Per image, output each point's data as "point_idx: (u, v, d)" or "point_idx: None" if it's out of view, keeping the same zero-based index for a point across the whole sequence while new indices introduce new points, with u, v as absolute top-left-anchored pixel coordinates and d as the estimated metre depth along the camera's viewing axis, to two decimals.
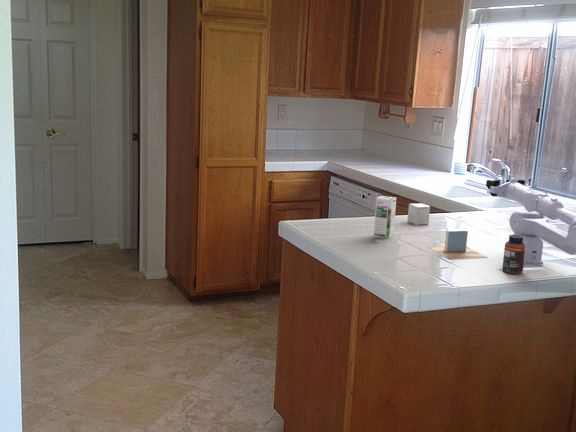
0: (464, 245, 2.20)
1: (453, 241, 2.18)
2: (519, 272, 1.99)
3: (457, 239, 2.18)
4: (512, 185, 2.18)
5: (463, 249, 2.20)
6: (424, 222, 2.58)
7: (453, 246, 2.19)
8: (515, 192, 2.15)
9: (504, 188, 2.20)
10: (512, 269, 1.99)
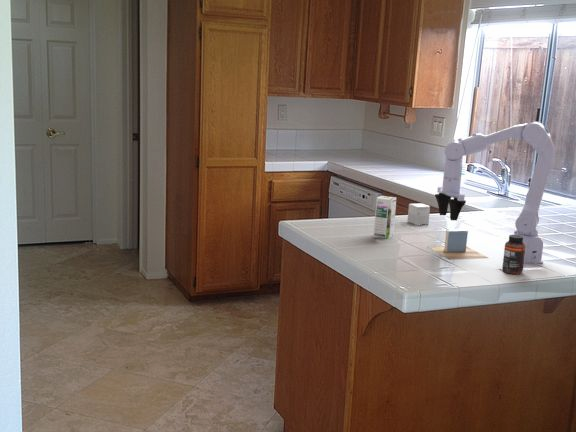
0: (464, 245, 2.20)
1: (453, 241, 2.18)
2: (519, 272, 1.99)
3: (457, 239, 2.18)
4: (448, 185, 2.19)
5: (463, 249, 2.20)
6: (424, 222, 2.58)
7: (453, 246, 2.19)
8: (448, 174, 2.19)
9: (453, 192, 2.19)
10: (512, 269, 1.99)
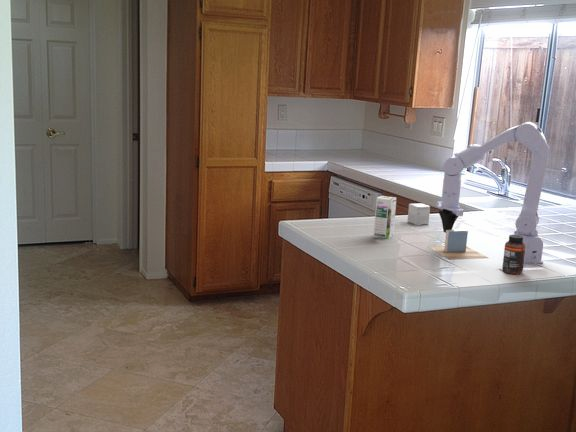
0: (464, 245, 2.20)
1: (453, 241, 2.18)
2: (519, 272, 1.99)
3: (457, 239, 2.18)
4: (447, 200, 2.20)
5: (463, 249, 2.20)
6: (424, 222, 2.58)
7: (453, 246, 2.19)
8: (447, 190, 2.20)
9: (452, 208, 2.20)
10: (512, 269, 1.99)
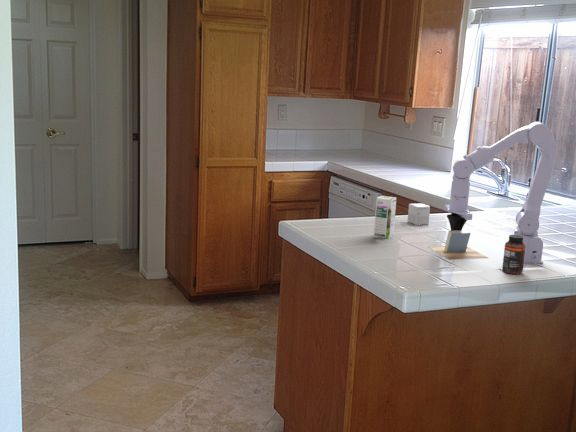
0: (465, 246, 2.19)
1: (454, 242, 2.17)
2: (519, 272, 1.99)
3: (459, 240, 2.17)
4: (455, 204, 2.15)
5: (463, 249, 2.20)
6: (424, 222, 2.58)
7: (454, 247, 2.18)
8: (457, 193, 2.14)
9: (461, 211, 2.15)
10: (512, 269, 1.99)
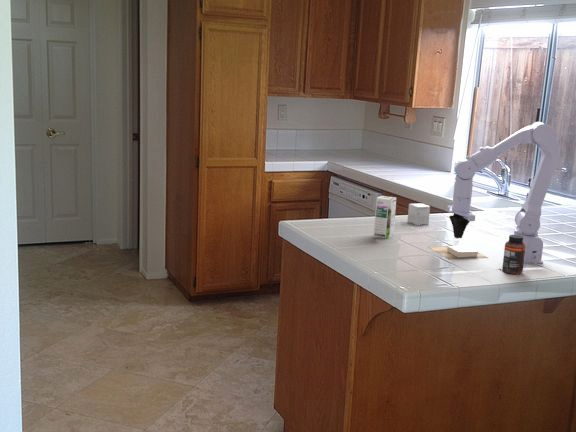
0: None
1: None
2: (519, 272, 1.99)
3: None
4: (458, 205, 2.13)
5: None
6: (424, 222, 2.58)
7: None
8: (460, 194, 2.12)
9: (464, 212, 2.13)
10: (512, 269, 1.99)
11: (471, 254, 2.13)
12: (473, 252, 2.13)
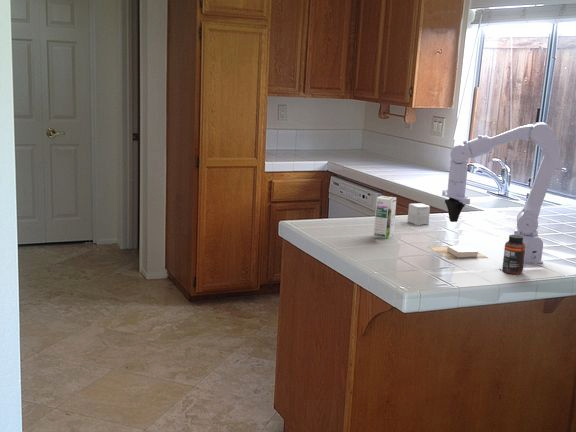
0: None
1: None
2: (519, 272, 1.99)
3: None
4: (453, 189, 2.16)
5: None
6: (424, 222, 2.58)
7: None
8: (454, 178, 2.15)
9: (459, 196, 2.16)
10: (512, 269, 1.99)
11: (471, 254, 2.13)
12: (473, 252, 2.13)
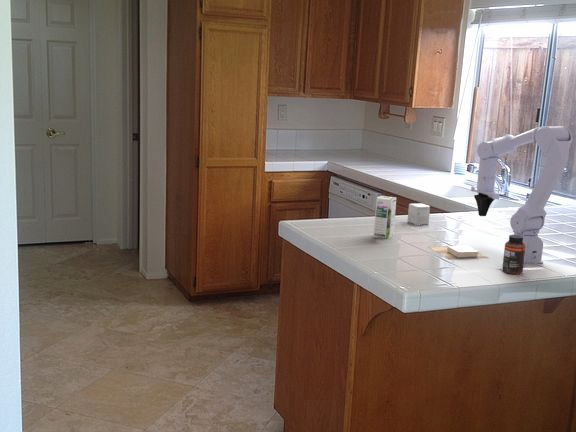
0: None
1: None
2: (519, 272, 1.99)
3: None
4: (483, 184, 2.25)
5: None
6: (424, 222, 2.58)
7: None
8: (479, 173, 2.25)
9: (488, 191, 2.24)
10: (512, 269, 1.99)
11: (471, 254, 2.13)
12: (473, 252, 2.13)
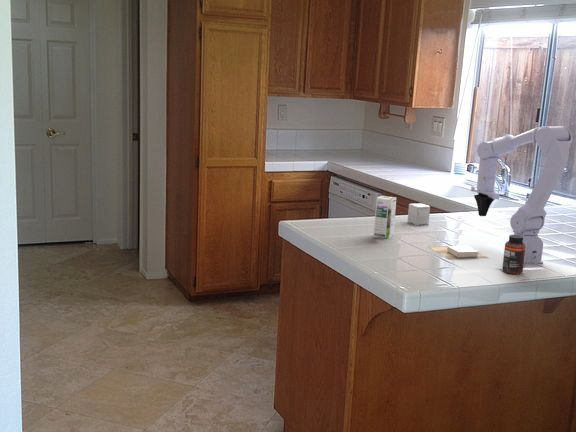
0: None
1: None
2: (519, 272, 1.99)
3: None
4: (483, 184, 2.25)
5: None
6: (424, 222, 2.58)
7: None
8: (479, 173, 2.25)
9: (488, 191, 2.24)
10: (512, 269, 1.99)
11: (471, 254, 2.13)
12: (473, 252, 2.13)
